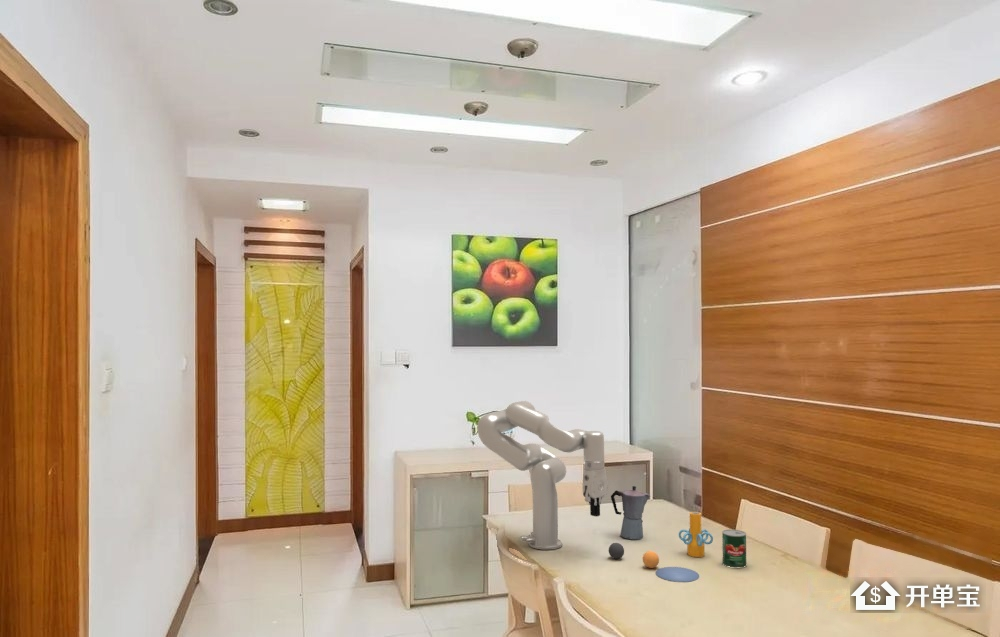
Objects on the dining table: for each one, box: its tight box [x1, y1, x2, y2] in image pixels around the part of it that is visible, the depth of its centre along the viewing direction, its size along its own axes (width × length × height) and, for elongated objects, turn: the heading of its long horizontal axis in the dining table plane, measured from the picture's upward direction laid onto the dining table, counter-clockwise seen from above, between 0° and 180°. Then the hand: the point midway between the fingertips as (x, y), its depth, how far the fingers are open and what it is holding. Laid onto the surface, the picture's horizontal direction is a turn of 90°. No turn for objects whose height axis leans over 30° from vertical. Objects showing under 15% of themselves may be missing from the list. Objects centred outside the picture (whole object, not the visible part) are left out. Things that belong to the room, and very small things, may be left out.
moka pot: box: [610, 485, 651, 540], centre depth 267 cm, size 10×15×20 cm, turn 89°
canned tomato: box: [721, 529, 747, 568], centre depth 234 cm, size 8×8×11 cm
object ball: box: [642, 550, 660, 569], centre depth 231 cm, size 6×6×6 cm
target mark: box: [655, 566, 700, 583], centre depth 224 cm, size 14×14×1 cm
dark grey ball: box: [608, 542, 625, 560], centre depth 241 cm, size 6×6×6 cm
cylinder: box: [678, 511, 714, 558], centre depth 245 cm, size 12×10×15 cm
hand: (595, 515), depth 247 cm, fingers closed
